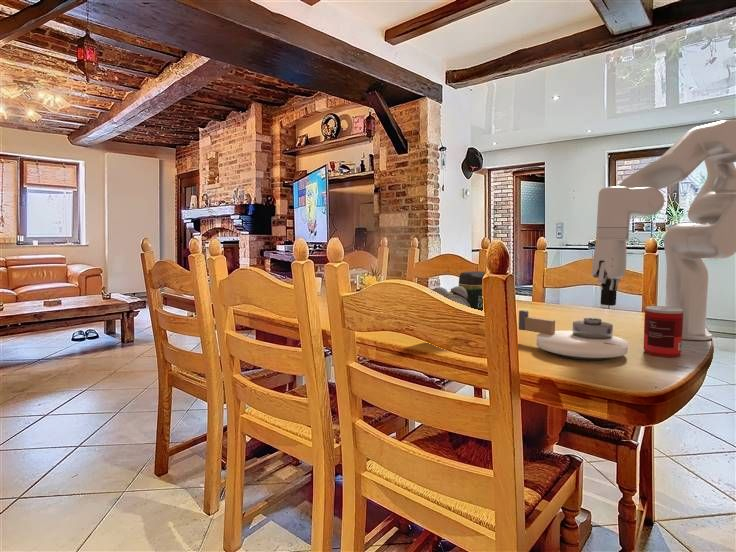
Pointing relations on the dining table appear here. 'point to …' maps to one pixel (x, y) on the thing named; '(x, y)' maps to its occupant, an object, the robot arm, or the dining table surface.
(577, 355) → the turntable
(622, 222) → the robot arm
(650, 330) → the canned food
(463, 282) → the coffee jar
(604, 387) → the dining table surface
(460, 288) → the alarm clock
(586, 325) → the cover
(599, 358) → the stand
